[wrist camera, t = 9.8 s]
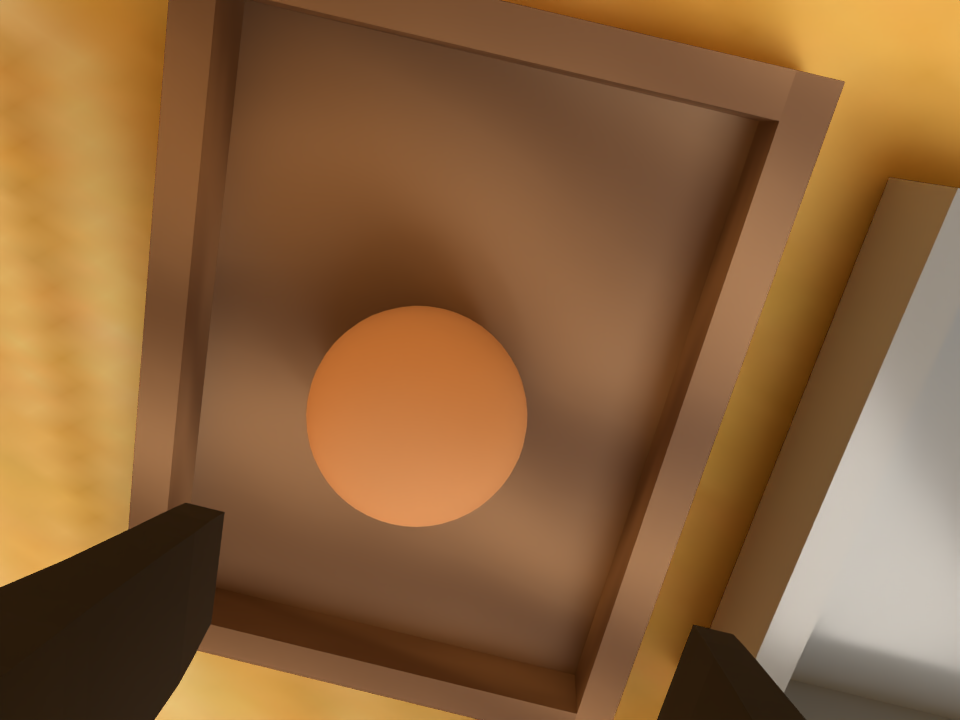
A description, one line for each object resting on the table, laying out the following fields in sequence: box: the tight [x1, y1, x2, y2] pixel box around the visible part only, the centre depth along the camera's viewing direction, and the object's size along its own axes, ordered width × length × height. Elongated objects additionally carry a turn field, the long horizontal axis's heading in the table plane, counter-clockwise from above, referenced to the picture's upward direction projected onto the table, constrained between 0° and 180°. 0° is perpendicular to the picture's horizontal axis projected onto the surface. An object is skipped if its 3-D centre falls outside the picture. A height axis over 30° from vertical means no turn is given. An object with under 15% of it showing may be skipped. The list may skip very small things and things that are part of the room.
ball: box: [306, 306, 527, 527], centre depth 17 cm, size 5×5×5 cm
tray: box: [128, 0, 845, 720], centre depth 19 cm, size 18×14×2 cm
